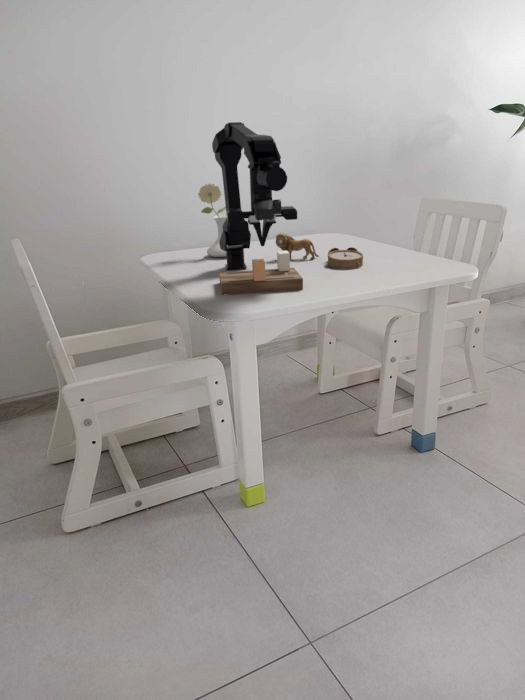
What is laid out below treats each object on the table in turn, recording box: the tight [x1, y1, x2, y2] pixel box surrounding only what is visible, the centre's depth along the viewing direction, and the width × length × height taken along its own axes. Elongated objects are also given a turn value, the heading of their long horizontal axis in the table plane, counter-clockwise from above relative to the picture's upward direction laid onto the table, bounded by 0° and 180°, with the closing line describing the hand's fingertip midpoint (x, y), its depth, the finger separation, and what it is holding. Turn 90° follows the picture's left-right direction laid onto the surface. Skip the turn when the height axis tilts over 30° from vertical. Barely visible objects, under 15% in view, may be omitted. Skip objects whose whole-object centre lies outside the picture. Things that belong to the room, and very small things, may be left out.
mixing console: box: [218, 267, 304, 296], centre depth 142 cm, size 13×22×3 cm, turn 97°
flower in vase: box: [197, 183, 227, 258], centre depth 177 cm, size 13×11×25 cm
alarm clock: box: [327, 247, 364, 270], centre depth 164 cm, size 11×5×15 cm
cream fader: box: [276, 250, 291, 271], centre depth 145 cm, size 4×3×5 cm
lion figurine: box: [275, 232, 319, 261], centre depth 172 cm, size 15×5×9 cm, turn 93°
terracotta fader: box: [251, 258, 266, 281], centre depth 136 cm, size 4×3×5 cm
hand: (262, 246), depth 141 cm, fingers closed
